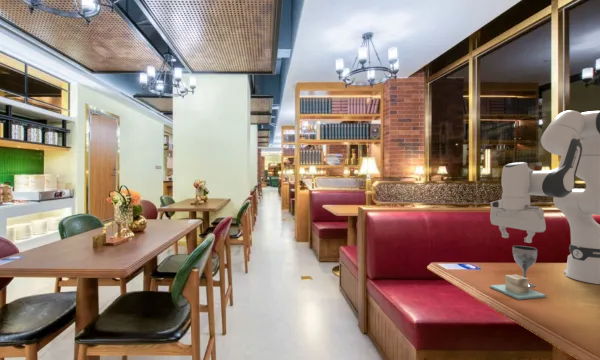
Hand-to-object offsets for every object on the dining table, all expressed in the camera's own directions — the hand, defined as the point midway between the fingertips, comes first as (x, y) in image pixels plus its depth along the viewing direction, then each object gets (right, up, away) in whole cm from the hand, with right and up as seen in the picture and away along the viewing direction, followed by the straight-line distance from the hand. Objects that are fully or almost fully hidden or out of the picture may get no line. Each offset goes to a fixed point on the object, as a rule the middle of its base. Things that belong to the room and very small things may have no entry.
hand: (516, 239), depth 112 cm
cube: (-1, -19, -2) cm, 19 cm away
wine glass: (+8, -20, +7) cm, 23 cm away
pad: (-1, -20, -2) cm, 20 cm away
